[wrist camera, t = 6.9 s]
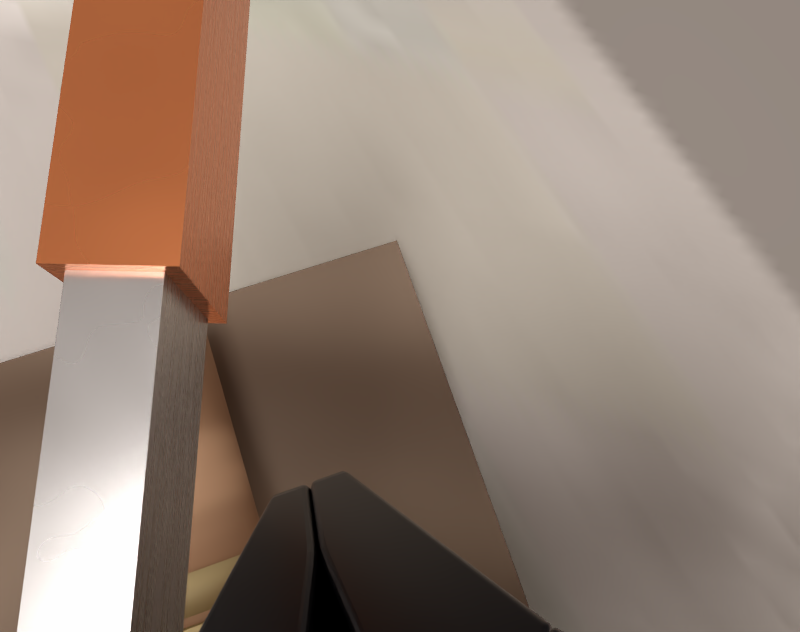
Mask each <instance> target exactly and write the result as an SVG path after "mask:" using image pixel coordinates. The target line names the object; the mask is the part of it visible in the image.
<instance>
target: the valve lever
mask: <svg viewBox="0 0 800 632" xmlns="http://www.w3.org/2000/svg"><path fill="white" fill-rule="evenodd" d="M249 7H250V0H74V3H73V10H72V17H71V24H70V31H69V38H68V45H67V52H66V59H65V65H64V72H63V79H62V86H61V93H60V100H59V107H58V114H57V121H56V128H55V135H54V142H53V149H52V156H51V163H50V169H49V176H48V183H47V190H46V197H45V204H44V211H43V218H42V225H41V232H40V239H39V246H38V253H37V260H36V264H38V265H39V266H41V267H42V268H43V269H45V270H46V271H48V272H49V273H51V274H52V275H53V276H55V277H56V278H58V279H59V280H61V281H62V282H63V289H62V297H61V304H60V312H59V319H58V327H57V334H56V342H55V349H54V357H53V364H52V372H51V379H50V387H49V394H48V402H47V409H46V417H45V424H44V432H43V439H42V447H41V454H40V462H39V469H38V477H37V484H36V492H35V499H34V507H33V514H32V522H31V529H30V537H29V544H28V552H27V559H26V567H25V574H24V582H23V589H22V597H21V604H20V612H19V619H18V627H17V632H183V629H184V617H185V604H186V591H187V579H188V566H189V554H190V541H191V528H192V516H193V503H194V490H195V478H196V465H197V452H198V440H199V427H200V414H201V402H202V389H203V377H204V364H205V351H206V339H207V326H208V323H223V324H227V311H228V297H229V283H230V270H231V256H232V242H233V228H234V214H235V200H236V187H237V173H238V159H239V145H240V131H241V117H242V104H243V90H244V76H245V62H246V48H247V34H248V21H249Z"/></svg>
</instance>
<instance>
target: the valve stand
mask: <svg viewBox="0 0 800 632" xmlns="http://www.w3.org/2000/svg"><path fill="white" fill-rule="evenodd" d="M54 349H55V346H54V347H51V348H48V349H44V350H41V351H38V352H35V353H31V354H28V355H25V356H22V357H19V358H15V359H12V360H9V361H6V362H2V363H0V632H17V627H18V619H19V612H20V604H21V597H22V589H23V582H24V574H25V567H26V559H27V552H28V544H29V537H30V529H31V522H32V514H33V507H34V499H35V492H36V484H37V477H38V469H39V462H40V454H41V447H42V439H43V432H44V424H45V417H46V409H47V402H48V394H49V387H50V379H51V372H52V364H53V357H54ZM341 471H345V472H348V473H349V474H351V475H352V476H353V477H355V478H356V479H357V480H359V481H360V482H361V483H363V484H364V485H365V486H367V487H368V488H369V489H371V490H372V491H373V492H375V493H376V494H377V495H379V496H380V497H381V498H383V499H384V500H385V501H387V502H388V503H389V504H391V505H392V506H393V507H395V508H396V509H397V510H399V511H400V512H401V513H403V514H404V515H405V516H407V517H408V518H409V519H411V520H412V521H413V522H415V523H416V524H417V525H419V526H420V527H421V528H423V529H424V530H425V531H427V532H428V533H429V534H431V535H432V536H433V537H435V538H436V539H437V540H439V541H440V542H441V543H443V544H444V545H445V546H447V547H448V548H449V549H451V550H452V551H453V552H455V553H456V554H457V555H459V556H460V557H462V558H463V559H464V560H466V561H467V562H468V563H470V564H471V565H472V566H474V567H475V568H476V569H478V570H479V571H480V572H482V573H483V574H484V575H486V576H487V577H488V578H490V579H491V580H492V581H494V582H495V583H496V584H498V585H499V586H500V587H502V588H503V589H504V590H506V591H507V592H508V593H510V594H511V595H512V596H514V597H515V598H516V599H518V600H519V601H520V602H522V603H523V604H524V605H526V606H527V607H528V608H529V606H528V603H527V600H526V597H525V595H524V592H523V589H522V586H521V583H520V581H519V578H518V575H517V572H516V570H515V567H514V564H513V561H512V559H511V556H510V553H509V550H508V547H507V545H506V542H505V539H504V536H503V534H502V531H501V528H500V525H499V523H498V520H497V517H496V514H495V511H494V509H493V506H492V503H491V500H490V498H489V495H488V492H487V489H486V487H485V484H484V481H483V478H482V475H481V473H480V470H479V467H478V464H477V462H476V459H475V456H474V453H473V451H472V448H471V445H470V442H469V439H468V437H467V434H466V431H465V428H464V426H463V423H462V420H461V417H460V415H459V412H458V409H457V406H456V403H455V401H454V398H453V395H452V392H451V390H450V387H449V384H448V381H447V379H446V376H445V373H444V370H443V367H442V365H441V362H440V359H439V356H438V354H437V351H436V348H435V345H434V343H433V340H432V337H431V334H430V331H429V329H428V326H427V323H426V320H425V318H424V315H423V312H422V309H421V306H420V304H419V301H418V298H417V295H416V293H415V290H414V287H413V284H412V282H411V279H410V276H409V273H408V270H407V268H406V265H405V262H404V259H403V257H402V254H401V251H400V248H399V246H398V243H397V241H394V242H391V243H387V244H384V245H381V246H378V247H374V248H371V249H368V250H365V251H362V252H358V253H355V254H352V255H349V256H345V257H342V258H339V259H336V260H332V261H329V262H326V263H323V264H319V265H316V266H313V267H310V268H307V269H303V270H300V271H297V272H294V273H290V274H287V275H284V276H281V277H277V278H274V279H271V280H268V281H264V282H261V283H258V284H255V285H252V286H248V287H245V288H242V289H239V290H235V291H232V292H229V297H228V311H227V324H223V323H208V326H207V339H206V351H205V364H204V377H203V389H202V402H201V414H200V427H199V440H198V452H197V465H196V478H195V490H194V503H193V516H192V528H191V541H190V554H189V566H188V579H187V591H186V604H185V617H184V629H183V632H199V630H200V628H201V627H202V625H203V623H204V621H205V619H206V617H207V615H208V614H209V612H210V610H211V608H212V606H213V604H214V603H215V601H216V599H217V597H218V595H219V593H220V591H221V590H222V588H223V586H224V584H225V582H226V580H227V578H228V577H229V575H230V573H231V571H232V569H233V567H234V566H235V564H236V562H237V560H238V558H239V556H240V554H241V553H242V551H243V549H244V547H245V545H246V543H247V541H248V540H249V538H250V536H251V534H252V532H253V530H254V529H255V527H256V525H257V523H258V521H259V519H260V517H261V516H262V514H263V512H264V510H265V508H266V506H267V504H268V503H269V501H270V499H271V498H272V497H273V496H274V495H276V494H279V493H281V492H284V491H287V490H290V489H293V488H296V487H298V486H301V485H306V486H308V487H309V488H310V489H311V485H312V483H313V482H314V481H316V480H318V479H321V478H324V477H327V476H330V475H332V474H335V473H338V472H341Z"/></svg>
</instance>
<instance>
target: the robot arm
mask: <svg viewBox="0 0 800 632" xmlns="http://www.w3.org/2000/svg"><path fill="white" fill-rule="evenodd" d="M199 632H562V631H561V630H560V629H558V628H553V629H552V627H551V625H550V624H549V623H548V622H547V621H546V620H544V619H543V618H542V617H540V616H539V615H538V614H536V613H535V612H534V611H532V610H531V609H530V608H528V607H527V606H526V605H524V604H523V603H522V602H520V601H519V600H518V599H516V598H515V597H514V596H512V595H511V594H510V593H508V592H507V591H506V590H504V589H503V588H502V587H500V586H499V585H498V584H496V583H495V582H494V581H492V580H491V579H490V578H488V577H487V576H486V575H484V574H483V573H482V572H480V571H479V570H478V569H476V568H475V567H474V566H472V565H471V564H470V563H468V562H467V561H466V560H464V559H463V558H462V557H460V556H459V555H457V554H456V553H455V552H453V551H452V550H451V549H449V548H448V547H447V546H445V545H444V544H443V543H441V542H440V541H439V540H437V539H436V538H435V537H433V536H432V535H431V534H429V533H428V532H427V531H425V530H424V529H423V528H421V527H420V526H419V525H417V524H416V523H415V522H413V521H412V520H411V519H409V518H408V517H407V516H405V515H404V514H403V513H401V512H400V511H399V510H397V509H396V508H395V507H393V506H392V505H391V504H389V503H388V502H387V501H385V500H384V499H383V498H381V497H380V496H379V495H377V494H376V493H375V492H373V491H372V490H371V489H369V488H368V487H367V486H365V485H364V484H363V483H361V482H360V481H359V480H357V479H356V478H355V477H353V476H352V475H351V474H349V473H348V472H345V471H341V472H338V473H335V474H332V475H330V476H327V477H324V478H321V479H318V480H316V481H314V482H313V483H312V485H311V489H310V488H309V487H308V486H306V485H301V486H298V487H296V488H293V489H290V490H287V491H284V492H281V493H279V494H276V495H274V496H273V497H272V498H271V499H270V501H269V503H268V504H267V506H266V508H265V510H264V512H263V514H262V516H261V517H260V519H259V521H258V523H257V525H256V527H255V529H254V530H253V532H252V534H251V536H250V538H249V540H248V541H247V543H246V545H245V547H244V549H243V551H242V553H241V554H240V556H239V558H238V560H237V562H236V564H235V566H234V567H233V569H232V571H231V573H230V575H229V577H228V578H227V580H226V582H225V584H224V586H223V588H222V590H221V591H220V593H219V595H218V597H217V599H216V601H215V603H214V604H213V606H212V608H211V610H210V612H209V614H208V615H207V617H206V619H205V621H204V623H203V625H202V627H201V628H200V630H199Z"/></svg>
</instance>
